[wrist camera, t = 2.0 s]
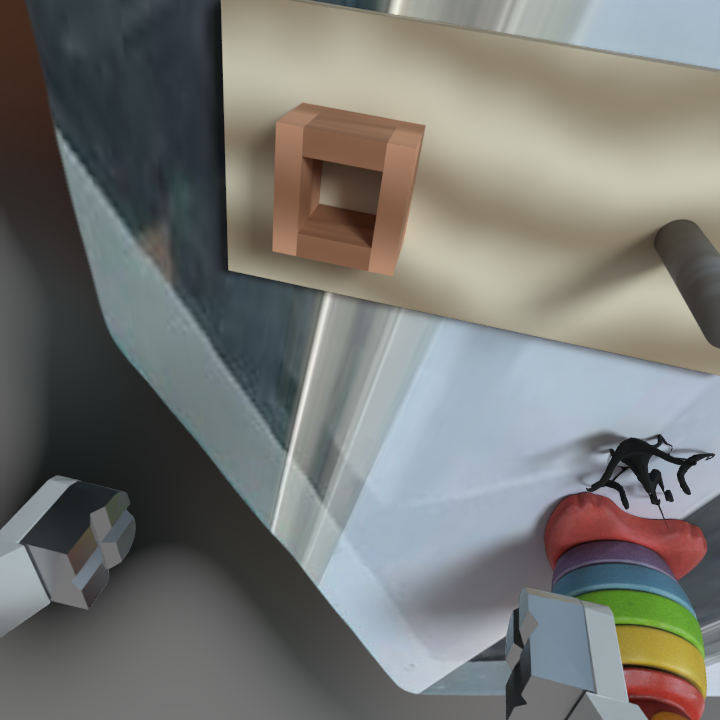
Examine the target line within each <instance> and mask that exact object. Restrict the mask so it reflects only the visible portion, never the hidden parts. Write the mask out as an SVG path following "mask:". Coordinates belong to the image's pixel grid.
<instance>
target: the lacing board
mask: <svg viewBox="0 0 720 720" xmlns="http://www.w3.org/2000/svg"><path fill="white" fill-rule="evenodd" d="M221 19H222V55H223V92H224V128H225V165H226V201H227V238H228V270H230V271H235V272H239V273H244V274H249V275H253V276H258V277H263V278H267V279H272V280H277V281H281V282H286V283H291V284H295V285H300V286H305V287H309V288H314V289H319V290H323V291H328V292H333V293H337V294H342V295H347V296H351V297H356V298H361V299H365V300H370V301H375V302H379V303H384V304H389V305H393V306H398V307H403V308H407V309H412V310H417V311H421V312H426V313H431V314H435V315H440V316H444V317H449V318H454V319H458V320H463V321H468V322H472V323H477V324H482V325H486V326H491V327H496V328H500V329H505V330H510V331H514V332H519V333H524V334H528V335H533V336H538V337H542V338H547V339H552V340H556V341H561V342H566V343H570V344H575V345H580V346H584V347H589V348H594V349H598V350H603V351H608V352H612V353H617V354H622V355H626V356H631V357H636V358H640V359H645V360H650V361H654V362H659V363H664V364H668V365H673V366H678V367H682V368H687V369H692V370H696V371H701V372H706V373H710V374H715V375H720V70H719V69H713V68H707V67H702V66H696V65H690V64H684V63H678V62H672V61H666V60H660V59H654V58H648V57H642V56H636V55H630V54H625V53H619V52H613V51H607V50H601V49H595V48H589V47H583V46H577V45H571V44H565V43H559V42H553V41H548V40H542V39H536V38H530V37H524V36H518V35H512V34H506V33H500V32H494V31H488V30H482V29H477V28H471V27H465V26H459V25H453V24H447V23H441V22H435V21H429V20H423V19H417V18H411V17H405V16H400V15H394V14H388V13H382V12H376V11H370V10H364V9H358V8H352V7H346V6H340V5H334V4H328V3H323V2H317V1H311V0H221ZM301 103H308V104H314V105H319V106H324V107H330V108H335V109H341V110H346V111H351V112H357V113H362V114H368V115H373V116H378V117H384V118H389V119H395V120H400V121H405V122H411V123H416V124H421V125H426V127H425V132H424V137H423V142H422V148H421V153H420V158H419V164H418V169H417V174H416V179H415V185H414V190H413V195H412V201H411V206H410V211H409V216H408V222H407V227H406V232H405V238H404V243H403V246H402V249H401V252H400V255H399V258H398V261H397V264H396V267H395V270H394V273H393V276H388V275H384V274H379V273H374V272H369V271H365V270H360V269H355V268H350V267H345V266H341V265H336V264H331V263H326V262H322V261H317V260H312V259H307V258H303V257H298V256H293V255H288V254H284V253H279V252H274V251H272V249H273V213H274V177H275V142H276V122H277V121H278V120H279V119H281V118H282V117H283V116H285V115H286V114H288V113H289V112H290V111H292V110H293V109H295V108H296V107H297V106H299V105H300V104H301ZM382 176H383V172H381V171H376V170H371V169H366V168H361V167H355V166H350V165H345V164H340V163H335V162H330V161H324V160H323V162H322V175H321V187H320V199H319V204H324V205H329V206H334V207H339V208H344V209H349V210H354V211H359V212H364V213H369V214H374V215H377V209H378V202H379V196H380V189H381V182H382Z"/></svg>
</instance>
